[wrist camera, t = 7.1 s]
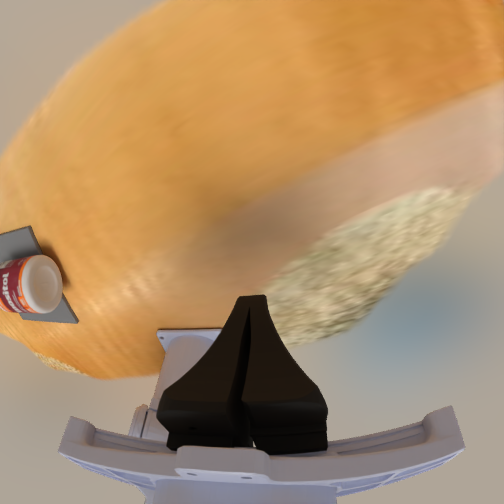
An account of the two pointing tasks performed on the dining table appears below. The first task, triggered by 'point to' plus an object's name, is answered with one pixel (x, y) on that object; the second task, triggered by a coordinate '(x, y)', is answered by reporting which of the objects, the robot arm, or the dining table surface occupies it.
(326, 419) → the robot arm
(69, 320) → the mat
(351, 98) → the dining table surface
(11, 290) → the pill bottle
